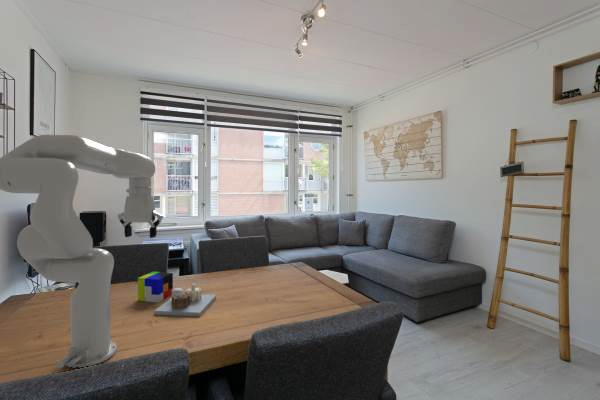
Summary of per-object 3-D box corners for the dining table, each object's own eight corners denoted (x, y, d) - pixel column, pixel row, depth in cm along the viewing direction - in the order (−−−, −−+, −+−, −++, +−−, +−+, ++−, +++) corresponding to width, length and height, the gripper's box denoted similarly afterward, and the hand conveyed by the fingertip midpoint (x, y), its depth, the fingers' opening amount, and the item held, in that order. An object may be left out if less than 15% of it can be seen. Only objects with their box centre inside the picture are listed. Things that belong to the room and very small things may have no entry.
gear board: (199, 316, 114) (199, 295, 114) (154, 314, 115) (154, 294, 115) (216, 298, 133) (216, 280, 133) (177, 296, 134) (177, 279, 134)
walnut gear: (185, 309, 117) (185, 299, 116) (169, 308, 117) (169, 298, 117) (191, 303, 123) (191, 293, 123) (176, 302, 123) (176, 293, 123)
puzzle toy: (158, 302, 127) (158, 279, 127) (138, 300, 129) (137, 277, 129) (172, 294, 137) (172, 273, 136) (153, 292, 139) (153, 271, 138)
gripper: (111, 192, 109) (112, 238, 110) (157, 193, 109) (157, 239, 109) (124, 191, 117) (125, 234, 118) (167, 192, 116) (167, 236, 117)
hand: (140, 237), depth 113 cm, fingers open, 9 cm apart
